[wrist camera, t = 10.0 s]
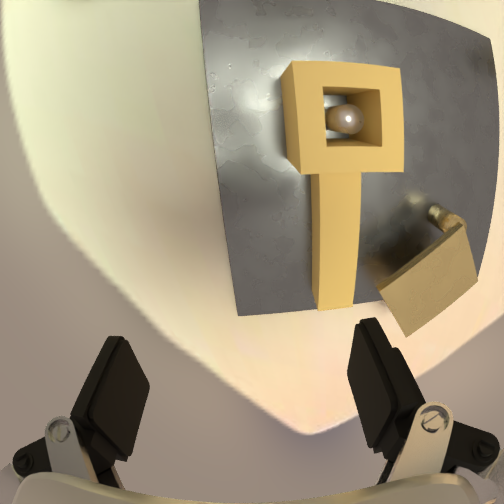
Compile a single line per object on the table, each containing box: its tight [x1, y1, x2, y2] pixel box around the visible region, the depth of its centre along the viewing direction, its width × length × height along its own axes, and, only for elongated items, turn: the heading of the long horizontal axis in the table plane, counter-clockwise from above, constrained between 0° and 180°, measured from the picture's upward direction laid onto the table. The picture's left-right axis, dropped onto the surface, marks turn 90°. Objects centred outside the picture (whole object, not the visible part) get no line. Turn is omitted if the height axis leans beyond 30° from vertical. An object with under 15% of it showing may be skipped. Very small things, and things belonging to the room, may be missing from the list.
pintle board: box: [199, 0, 499, 337], centre depth 18 cm, size 29×28×6 cm
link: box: [280, 61, 404, 311], centre depth 19 cm, size 18×6×6 cm, turn 5°
